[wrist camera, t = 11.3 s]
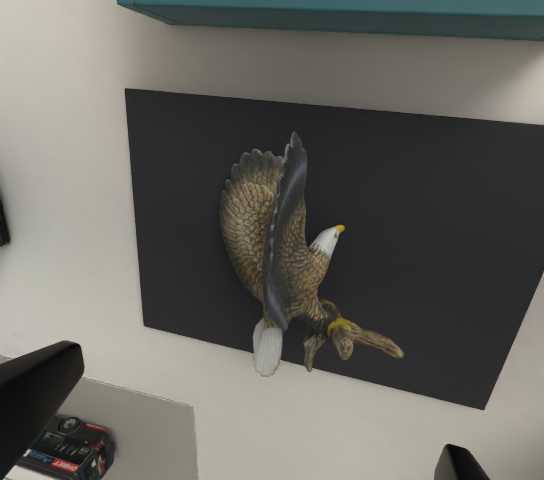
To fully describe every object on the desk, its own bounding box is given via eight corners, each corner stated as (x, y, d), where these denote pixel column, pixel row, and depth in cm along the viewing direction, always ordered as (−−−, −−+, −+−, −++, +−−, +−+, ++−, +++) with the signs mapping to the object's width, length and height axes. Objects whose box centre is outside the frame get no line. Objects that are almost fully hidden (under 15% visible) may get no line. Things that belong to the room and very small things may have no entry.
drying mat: (147, 322, 23) (143, 326, 22) (129, 88, 17) (124, 88, 17) (482, 404, 18) (484, 410, 18) (598, 129, 13) (604, 130, 13)
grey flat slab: (-73, 337, 30) (-137, 371, 26) (193, 406, 24) (160, 462, 21) (-25, 453, 35) (-72, 495, 32) (201, 531, 30) (176, 594, 26)
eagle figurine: (442, 282, 15) (342, 92, 12) (368, 435, 11) (199, 223, 8) (317, 278, 21) (229, 152, 18) (244, 377, 18) (118, 242, 14)
